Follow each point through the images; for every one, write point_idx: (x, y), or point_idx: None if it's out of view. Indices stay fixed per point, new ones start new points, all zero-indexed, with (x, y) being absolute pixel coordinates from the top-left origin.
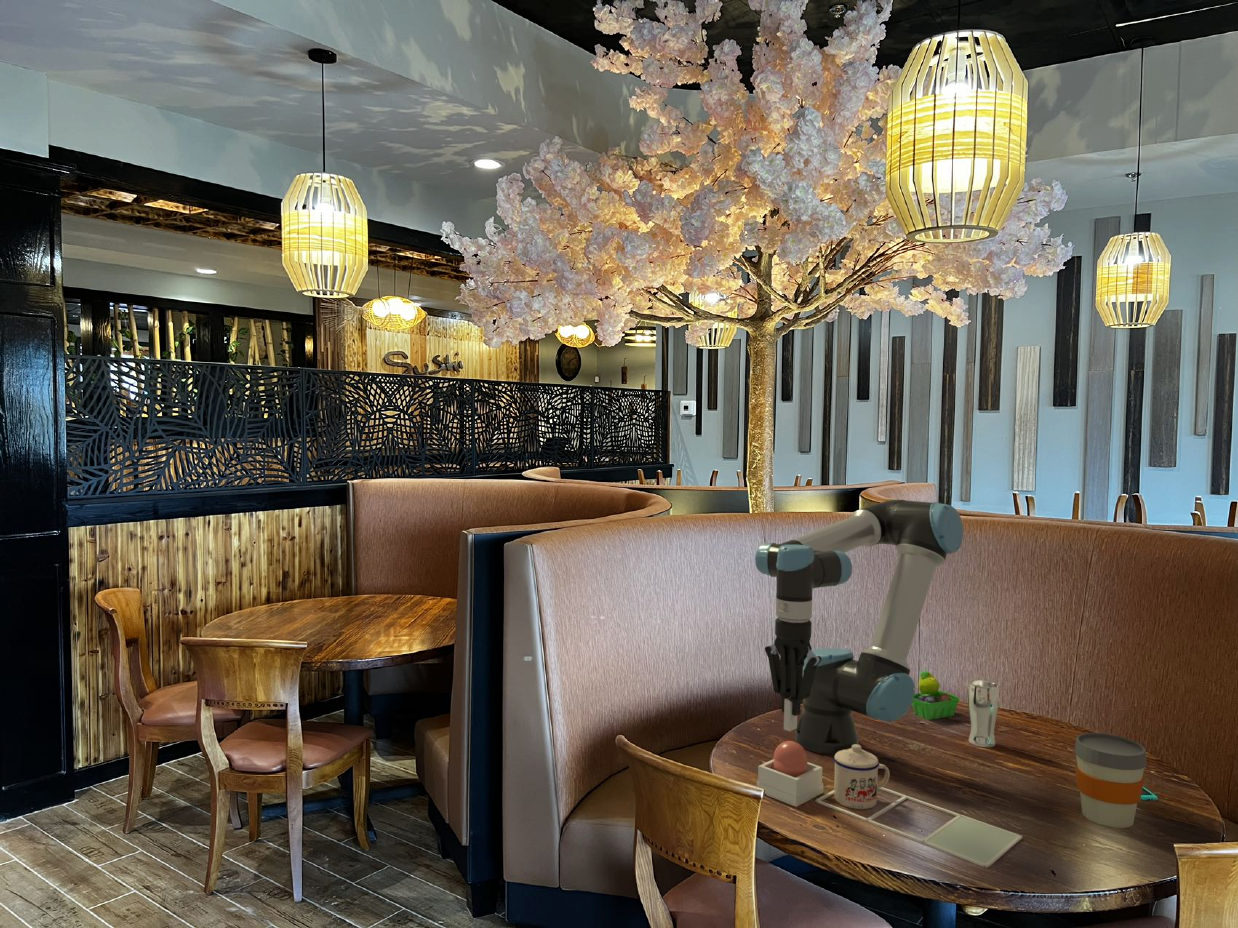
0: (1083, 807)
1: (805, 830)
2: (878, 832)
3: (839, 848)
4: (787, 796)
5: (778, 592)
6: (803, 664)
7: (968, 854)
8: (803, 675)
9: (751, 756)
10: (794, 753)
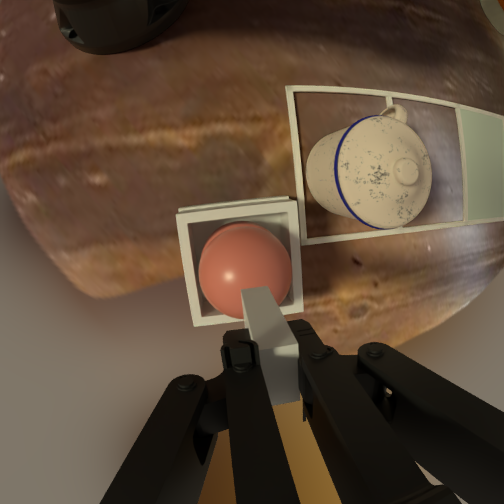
0: (496, 20)
1: (350, 337)
2: (422, 247)
3: (404, 331)
4: None
5: None
6: (448, 500)
7: (497, 209)
8: (443, 481)
9: (63, 183)
10: (280, 300)
